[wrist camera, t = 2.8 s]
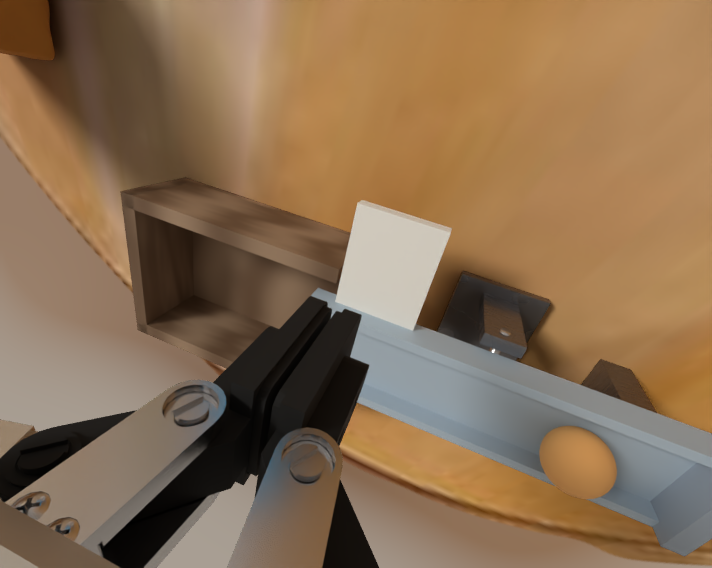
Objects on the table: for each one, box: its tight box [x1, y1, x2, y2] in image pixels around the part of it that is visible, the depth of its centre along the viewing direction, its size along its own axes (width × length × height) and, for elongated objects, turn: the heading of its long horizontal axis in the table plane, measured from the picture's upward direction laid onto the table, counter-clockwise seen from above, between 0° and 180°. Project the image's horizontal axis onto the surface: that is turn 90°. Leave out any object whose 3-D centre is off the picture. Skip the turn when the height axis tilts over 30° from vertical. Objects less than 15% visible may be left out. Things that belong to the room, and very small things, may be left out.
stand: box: [437, 271, 657, 413], centre depth 23 cm, size 13×10×6 cm
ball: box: [539, 426, 617, 499], centre depth 18 cm, size 4×4×4 cm
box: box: [121, 178, 351, 368], centre depth 27 cm, size 16×12×6 cm
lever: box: [311, 200, 712, 556], centre depth 19 cm, size 24×12×3 cm, turn 77°
